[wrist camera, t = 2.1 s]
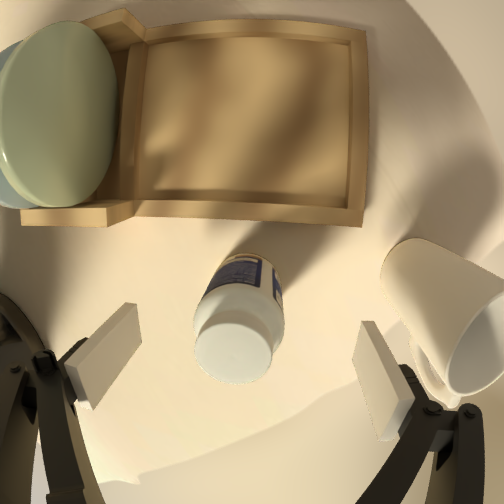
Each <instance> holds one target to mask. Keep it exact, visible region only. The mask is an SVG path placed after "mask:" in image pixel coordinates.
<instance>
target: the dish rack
mask: <svg viewBox="0 0 504 504" xmlns="http://www.w3.org/2000/svg"><path fill="white" fill-rule="evenodd" d="M78 23H82V24H84V25H86V26H87V27H89V28H90V29H92V30H93V31H94V32H95V33H96V34H97V35H98V36H99V37H100V39H101V40H102V41H103V43H104V44H105V46H106V48H107V50H108V52H109V54H110V57H111V59H112V62H113V65H114V69H115V73H116V78H117V83H118V91H119V125H118V133H117V140H116V144H115V149H114V153H113V156H112V159H111V162H110V165H109V167H108V170H107V172H106V174H105V176H104V178H103V180H102V182H101V183H100V184H99V186H98V187H97V189H96V190H95V191H94V192H93V193H92V194H91V195H90V196H89V197H88V198H87V199H85V200H84V201H82V202H80V203H78V204H76V205H73V206H67V207H42V206H39V207H34V208H22V209H20V215H21V226H79V227H109V226H111V225H114V224H116V223H119V222H121V221H124V220H126V219H129V218H131V217H134V216H141V217H181V218H210V219H234V220H255V221H273V222H290V223H306V224H321V225H335V226H349V227H361V228H362V223H363V214H364V204H365V192H366V179H367V163H368V139H369V79H368V57H367V42H366V31H362V30H357V29H352V28H347V27H341V26H334V25H328V24H320V23H312V22H302V21H290V20H273V19H228V20H210V21H198V22H188V23H180V24H173V25H166V26H160V27H154V28H148V29H146V28H145V27H144V26H143V25H142V24H141V23H140V22H139V21H138V20H137V19H136V18H135V17H134V16H133V15H132V14H131V13H130V12H129V11H128V10H127V9H125V8H122V9H118V10H114V11H111V12H108V13H104V14H101V15H98V16H95V17H92V18H89V19H86V20H84V21H81V22H78Z"/></svg>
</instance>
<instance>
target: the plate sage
mask: <svg viewBox="0 0 504 504" xmlns="http://www.w3.org/2000/svg"><path fill="white" fill-rule="evenodd" d="M118 125H119V91H118V83H117V78H116V73H115V69H114V65H113V62H112V59H111V57H110V54H109V52H108V50H107V48H106V46H105V44H104V43H103V41H102V40H101V39H100V37H99V36H98V35H97V34H96V33H95V32H94V31H93V30H92V29H90V28H89V27H87V26H86V25H84V24H82V23H78V22H75V21H62V22H58V23H54V24H51V25H49V26H47V27H45V28H43V29H41V30H39V31H37V32H35V33H33V34H32V35H30V36H28V37H27V38H26V39H25V40H24V41H22V42H21V43H20V44H19V45H18V46H17V47H16V48H15V50H14V51H13V52H12V53H11V55H10V56H9V58H8V59H7V61H6V62H5V64H4V66H3V68H2V70H1V72H0V168H1V170H2V172H3V174H4V176H5V177H6V179H7V180H8V182H9V183H10V185H11V186H12V187H13V188H14V189H15V191H16V192H17V193H18V194H19V195H21V196H22V197H23V198H25V199H26V200H27V201H29V202H31V203H33V204H35V205H39V206H42V207H67V206H73V205H76V204H78V203H80V202H82V201H84V200H85V199H87V198H88V197H89V196H90V195H91V194H92V193H93V192H94V191H95V190H96V189H97V187H98V186H99V184H100V183H101V182H102V180H103V178H104V176H105V174H106V172H107V170H108V167H109V165H110V162H111V159H112V156H113V153H114V149H115V144H116V140H117V133H118Z"/></svg>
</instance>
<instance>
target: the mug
mask: <svg viewBox="0 0 504 504" xmlns="http://www.w3.org/2000/svg"><path fill="white" fill-rule="evenodd" d="M380 285H381V289H382V292H383V294H384V296H385V297H386V299H387V300H388V302H389V303H390V305H391V306H392V308H393V309H394V310H395V312H396V313H397V315H398V316H399V317H400V319H401V320H402V321H403V323H404V324H405V326H406V327H407V328H408V330H409V331H410V333H411V335H410V339H409V347H410V350H411V353H412V355H413V358H414V361H415V364H416V366H417V370H418V372H419V375H420V377H421V379H422V381H423V383H424V385H425V387H426V388H427V390H428V391H429V392H430V394H431V395H433V396H434V397H435V398H436V399H438V400H440V401H441V402H443V403H445V404H446V405H447V407H448V408H454V407H456V406H457V405H458V404H459V401H460V399H461V396H468V395H472V394H475V393H477V392H480V391H481V390H483V389H485V388H487V387H488V386H490V385H491V384H492V383H493V382H495V381H496V380H497V379H498V378H499V377H500V376H501V375H502V374H503V373H504V280H503V279H502V278H500V277H498V276H496V275H495V274H493V273H491V272H489V271H487V270H485V269H484V268H482V267H480V266H478V265H476V264H474V263H472V262H470V261H468V260H466V259H465V258H463V257H461V256H459V255H457V254H455V253H453V252H451V251H449V250H447V249H445V248H443V247H441V246H439V245H436V244H434V243H432V242H430V241H427V240H425V239H421V238H412V239H408V240H405V241H403V242H401V243H399V244H398V245H397V246H395V247H394V248H393V249H392V250H391V251H390V253H389V254H388V255H387V257H386V259H385V261H384V263H383V265H382V269H381V273H380ZM428 359H429V361H430V362H431V364H432V365H433V367H434V368H435V370H436V371H437V373H438V374H439V376H440V377H441V379H442V380H443V382H444V383H445V384H442V383H440V382H439V381H438V380H437V379H436V378H435V376H434V374H433V373H432V371H431V368H430V365H429V361H428Z"/></svg>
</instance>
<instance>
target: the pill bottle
mask: <svg viewBox="0 0 504 504" xmlns="http://www.w3.org/2000/svg"><path fill="white" fill-rule="evenodd" d="M284 325H285V323H284V313H283V301H282V290H281V282H280V278H279V275H278V273H277V271H276V269H275V267H274V266H273V265H272V264H271V263H270V262H268V261H267V260H266V259H264V258H262V257H260V256H258V255H255V254H248V253H242V254H237V255H234V256H231V257H230V258H228V259H226V260H225V261H224V262H223V263H222V264H221V265H220V266H219V267H218V269H217V270H216V272H215V274H214V275H213V278H212V279H211V281H210V283H209V285H208V287H207V289H206V291H205V293H204V295H203V297H202V299H201V301H200V303H199V304H198V307H197V309H196V312H195V316H194V332H195V335H196V338H197V339H196V342H195V349H194V352H195V357H196V361H197V363H198V365H199V366H200V368H201V369H202V370H203V371H204V372H205V373H206V374H207V375H209V376H210V377H212V378H213V379H215V380H218V381H220V382H224V383H228V384H245V383H249V382H253V381H255V380H257V379H259V378H260V377H262V376H263V375H264V374H265V373H266V372H267V370H268V369H269V367H270V365H271V361H272V355H273V353H274V352H275V351H276V350H277V348H278V347H279V345H280V343H281V341H282V338H283V335H284Z"/></svg>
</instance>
